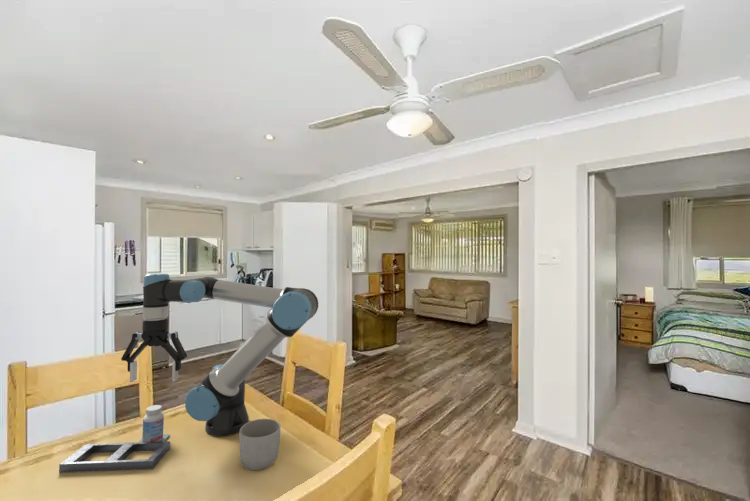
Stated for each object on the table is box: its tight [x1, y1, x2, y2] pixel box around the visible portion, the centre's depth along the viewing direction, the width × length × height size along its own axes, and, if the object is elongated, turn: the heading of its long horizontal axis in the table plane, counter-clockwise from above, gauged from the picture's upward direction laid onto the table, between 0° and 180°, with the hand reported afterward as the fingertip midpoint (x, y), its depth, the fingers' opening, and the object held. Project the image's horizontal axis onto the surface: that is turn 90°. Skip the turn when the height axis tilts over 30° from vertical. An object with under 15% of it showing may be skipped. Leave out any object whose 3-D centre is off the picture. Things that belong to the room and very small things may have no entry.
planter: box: [238, 418, 281, 471], centre depth 110 cm, size 12×12×11 cm
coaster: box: [138, 433, 171, 442], centre depth 120 cm, size 8×8×1 cm
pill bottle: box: [141, 404, 165, 442], centre depth 120 cm, size 6×6×11 cm
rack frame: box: [58, 440, 171, 474], centre depth 110 cm, size 26×11×2 cm, turn 96°
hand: (154, 380), depth 120 cm, fingers open, 13 cm apart
